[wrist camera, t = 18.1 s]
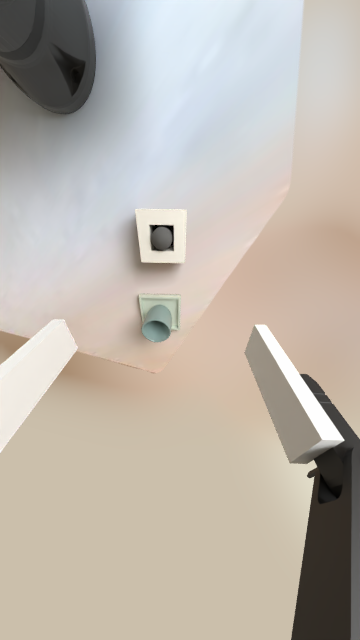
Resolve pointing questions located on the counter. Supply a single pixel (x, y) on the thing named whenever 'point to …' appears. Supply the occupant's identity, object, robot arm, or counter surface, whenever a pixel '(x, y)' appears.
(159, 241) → the grey oval solid
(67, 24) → the robot arm
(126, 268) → the counter surface
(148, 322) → the cup
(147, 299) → the tray
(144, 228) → the housing
